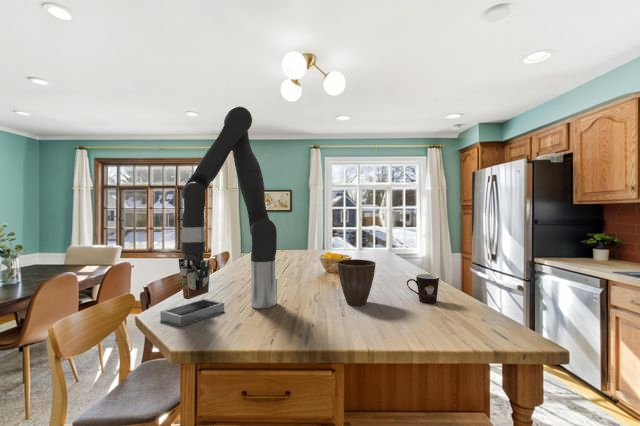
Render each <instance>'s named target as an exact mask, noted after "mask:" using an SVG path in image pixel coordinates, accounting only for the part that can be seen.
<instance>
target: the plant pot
mask: <svg viewBox="0 0 640 426" xmlns="http://www.w3.org/2000/svg"><path fill="white" fill-rule="evenodd" d="M336 262H337V263H336V264H337V270H338V271H337V272H338V276H339V277H338V278H339V282H340V286H341V289H342V293H343V296H344V299H345V301H346V304H347V305H349V306H353V307H354V306H355V307H362V306H365V305H366V304H367V303H368V302H367V301H368V299H369V296H370V293H371V289H372V286H373V282H374V278H375V272H376V271H375V270H376V264H377V263H376V261H373V260H368V259H358V258H357V259H352V258H351V259H341V260H338V261H336Z"/></svg>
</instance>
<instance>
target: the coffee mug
mask: <svg viewBox="0 0 640 426" xmlns="http://www.w3.org/2000/svg"><path fill="white" fill-rule="evenodd" d="M415 277H416V279H414V278H410V279H408V280H407V281H406V286H407V287H408V289H409V290H410V291H412V292H414V293H415V294H416V295H417V296H418V301H419V302H420V303H422V304H426V305H433V304H435V305H436V303H437V301H438V291H439V284H440V283H439V281H440V276H439V275H436V274H430V273H419V274H415ZM409 282H415V284H416V286H417V291H415V290H414V289H412V288H411V287H410V286H409Z"/></svg>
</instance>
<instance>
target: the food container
mask: <svg viewBox="0 0 640 426" xmlns="http://www.w3.org/2000/svg"><path fill="white" fill-rule="evenodd" d="M196 270H200V269H196ZM211 270H212V267H211V263H209V271H208V277H206V278H204V279H203V289H202V290H200V291H196V276H195V273H194V270H192V269H184V266H183V267H181V269H180V268H179V274H178V275H180V276H181V284H182V293H183V294H182V297H183V299H186V300H191V299H194V298H197V297H200V296H203V295H205V294H207V293H209V288H210V277H211V275H210V274H211ZM203 273H204V274H205V271H204V272H203ZM198 274H199V276H200V273H198Z"/></svg>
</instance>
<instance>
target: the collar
mask: <svg viewBox="0 0 640 426" xmlns="http://www.w3.org/2000/svg"><path fill="white" fill-rule="evenodd" d="M223 312H225V302H222V301H217V300H211V299H207V298H202V299H198V300H196V301H195V300H194V301H192V302H189V303H188V302H187V303H185V304H181V305H178V306H174V307H171V308H169V309H165V310H162V311H161V310H160V321H161V322H164V323H168V324H170V325H174V326H177V327H181V328H182V327H185V326H187V325H190V324H192V323H196V322H199V321H201V320H204V319H207V318H211V317H212V316H215V315H218V314H220V313H223Z"/></svg>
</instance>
